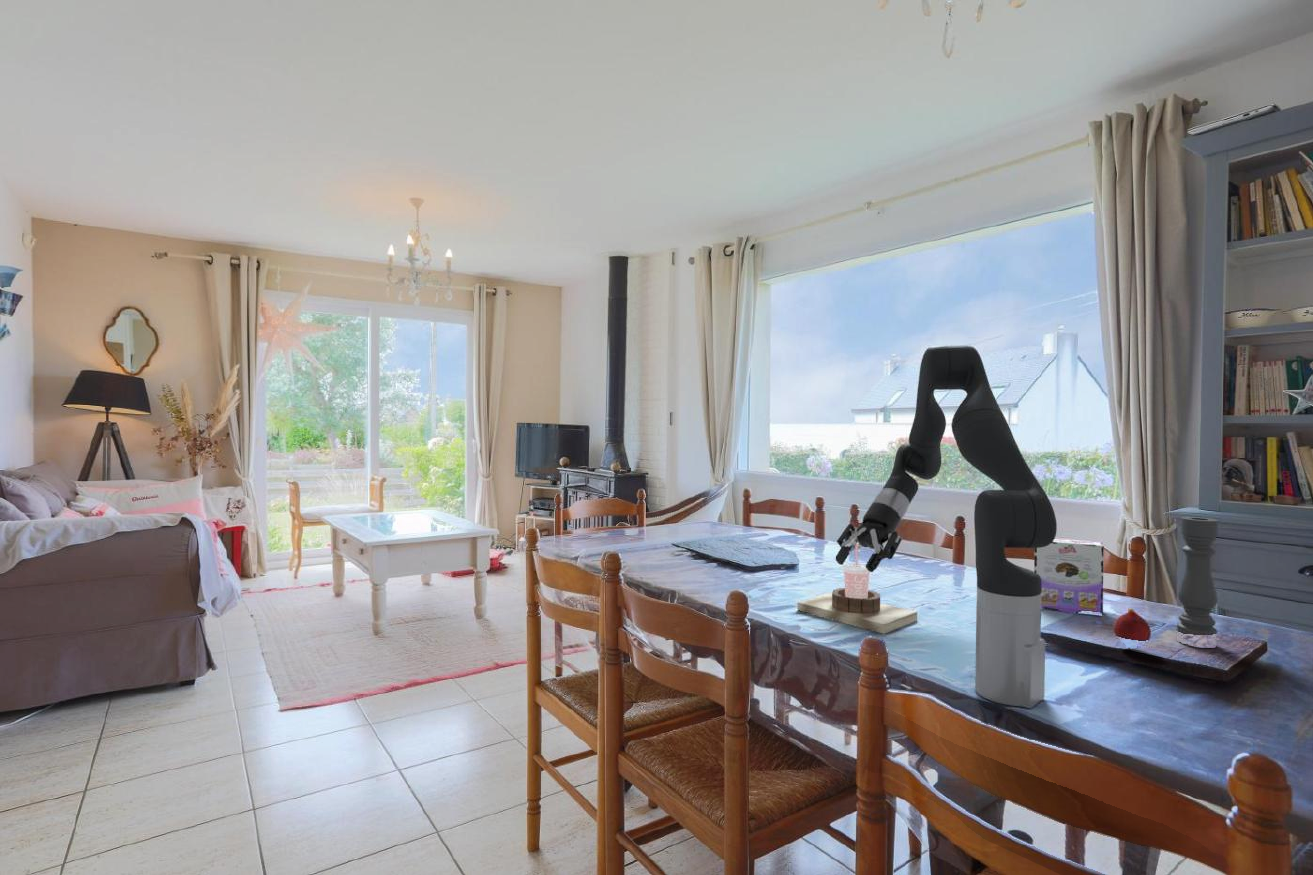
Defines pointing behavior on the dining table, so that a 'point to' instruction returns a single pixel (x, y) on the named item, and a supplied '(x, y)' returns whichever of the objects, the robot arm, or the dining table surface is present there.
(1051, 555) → the candy box
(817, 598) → the cup stand
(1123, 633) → the onion
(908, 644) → the dining table surface
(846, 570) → the beverage cup
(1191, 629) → the candle holder
